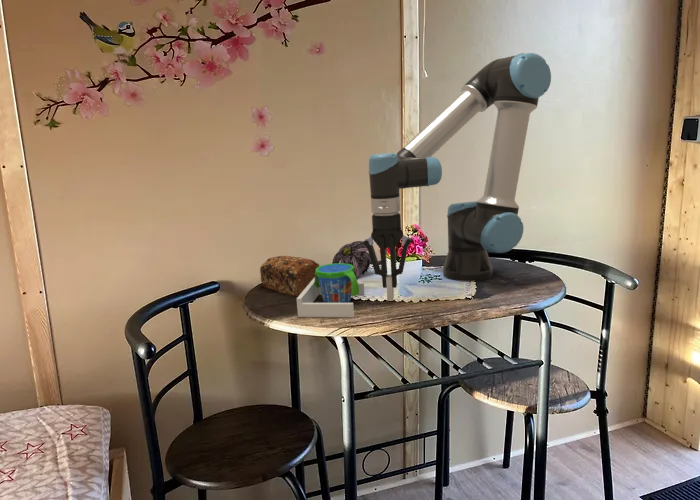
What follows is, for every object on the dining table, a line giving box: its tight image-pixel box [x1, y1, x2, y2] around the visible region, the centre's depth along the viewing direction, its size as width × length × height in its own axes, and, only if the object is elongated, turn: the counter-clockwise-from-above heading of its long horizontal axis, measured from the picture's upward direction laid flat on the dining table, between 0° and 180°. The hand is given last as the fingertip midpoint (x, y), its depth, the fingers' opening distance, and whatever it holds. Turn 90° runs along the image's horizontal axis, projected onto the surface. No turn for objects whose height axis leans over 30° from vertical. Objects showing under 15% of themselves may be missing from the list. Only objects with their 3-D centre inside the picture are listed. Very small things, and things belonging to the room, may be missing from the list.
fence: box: [296, 278, 365, 318], centre depth 150 cm, size 15×20×5 cm
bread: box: [259, 255, 320, 297], centre depth 167 cm, size 19×11×10 cm, turn 42°
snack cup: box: [314, 263, 359, 303], centre depth 151 cm, size 16×10×10 cm
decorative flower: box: [331, 240, 372, 280], centre depth 179 cm, size 15×12×15 cm
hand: (390, 298), depth 149 cm, fingers closed
